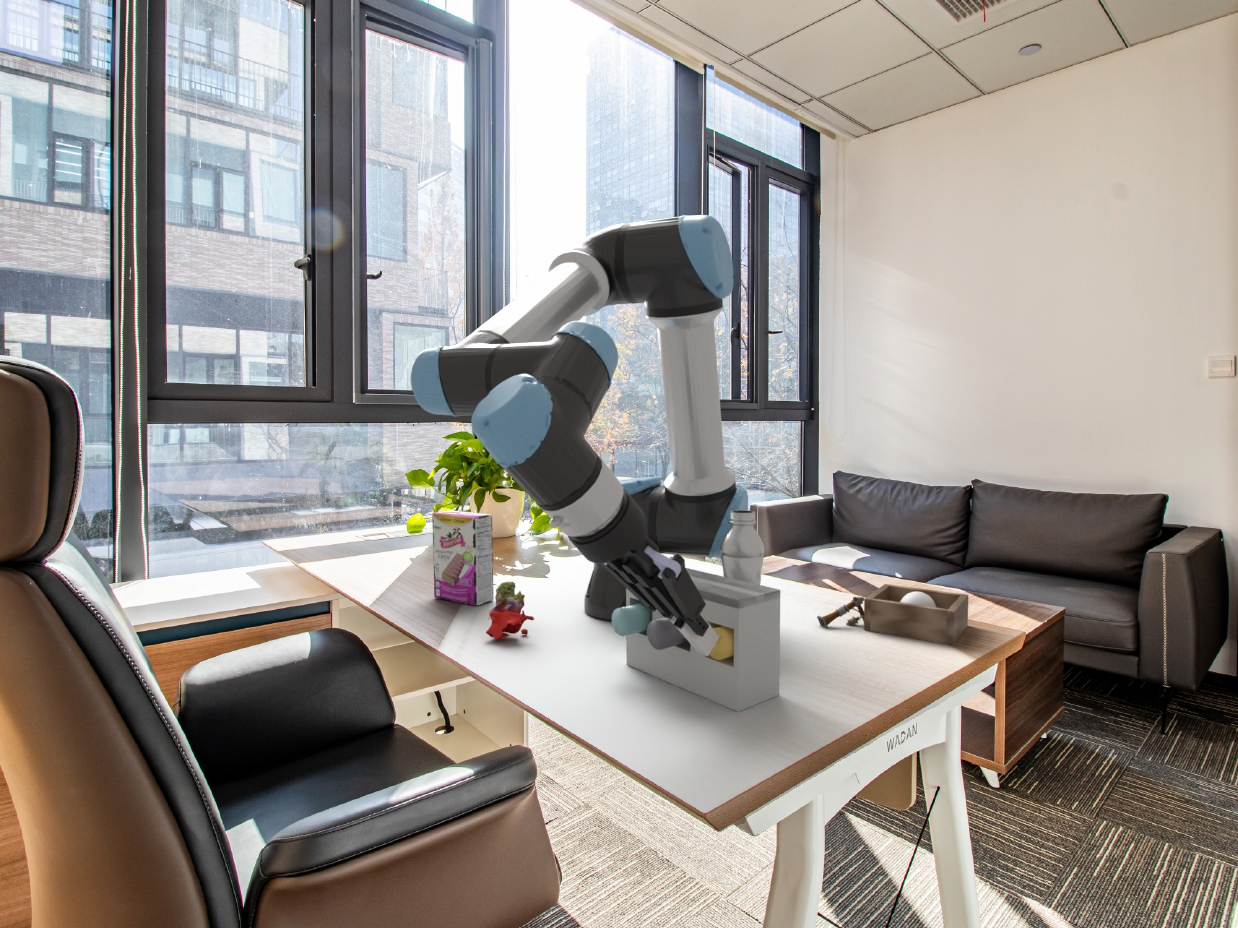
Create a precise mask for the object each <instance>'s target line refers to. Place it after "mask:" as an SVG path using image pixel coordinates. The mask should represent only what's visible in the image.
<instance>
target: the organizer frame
mask: <svg viewBox="0 0 1238 928" xmlns="http://www.w3.org/2000/svg"><path fill="white" fill-rule="evenodd" d="M911 592H923V593H925V594H927V595H929V596H930V597H931V598H932V599H933V601H934V603H935V605H936V607H929V606H922V605H915V604H908V603H901V602H900V601H901V600H902V598H903V597H904V596H905V595H906V594H908V593H911ZM863 611H864V621H863V630H864V631H867V632H868V631H869V632H875V633H881V634H887V635H893V636H898V637H904V638H908V639H909V638H910V639H916V640H922V641H927V642H933V643H938V644H944V645H949V646H954V645H955V643H956V642H957V641H958V640H959V638H960V637H961V635H962V634H963V633H964V631H965V629H966V628H967V627H968V626H969V625H968V624H969V594H964V593H958V592H956V593H955V592H949V591H943V590H933V589H927V588H919V587H912V586H903V585H896V584H888V583H884V584H882V586H880V587H879V588H877V589H876V590H875V591H873V592H872V593H870V594H869V595H868V596H866V597H865V598H864V601H863Z"/></svg>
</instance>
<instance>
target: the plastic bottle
mask: <svg viewBox="0 0 1238 928" xmlns="http://www.w3.org/2000/svg"><path fill="white" fill-rule="evenodd" d="M729 524H731V528H730V529H729V531H728V532H727V533H726V535H725V536H724V538H723V539H722V542H721V545H720V552H721V565H722V572H723V577H727V578H732V579H736V580H740V581H745V582H749V583H753V584H758V585H761V582H762V569H763V563H764V554H765V545H764V541H763V540H762V538H761V536H760V535H759V533H758V531H757V530H756V529H755V527H754V526H755V525H756V524H757V522H756V511H754V510H750V509H748V510H732V511H730V520H729Z"/></svg>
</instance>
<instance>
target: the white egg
mask: <svg viewBox="0 0 1238 928" xmlns="http://www.w3.org/2000/svg"><path fill="white" fill-rule="evenodd" d="M900 602H901V603H908V604H915V605H922V606H929V607H936V605H935V603H934V601H933V599H932V598H931V597H930V596H929V595H927V594H925V593H923V592H911V593H908V594H906V595H905V596H904V597H903V598H902V600H901V601H900Z"/></svg>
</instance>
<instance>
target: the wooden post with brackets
mask: <svg viewBox="0 0 1238 928" xmlns="http://www.w3.org/2000/svg"><path fill="white" fill-rule="evenodd" d="M864 599H865V598H864V596H853V597H852V599H851V601H850V602H849V603H847V604H843V605H842V606H840V607H839V608H837V609H835V611H833V612H831V613H829V614H826V615H823V616H821V615H817V616H816V618H817V621H818V623H819V625H820V626H822V627H823V628H825V629H829V627H828V625H829V624H831V623H832V622H833V621H835V620H836V619H837V618H841V617H842V616H844V615H846V614H848V613H850V612H851V610H853V611H856V612H858V613H859V616H856V617H855V616H852V615H851V616H852V618H850V619H847V621H846V626H847V627H849V626H852V627H854V626H855V625H856V624H857V625H859V621H861V619H862V621H863V622H864V608H863V606H862V604H864ZM856 608H857V609H856Z"/></svg>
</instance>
